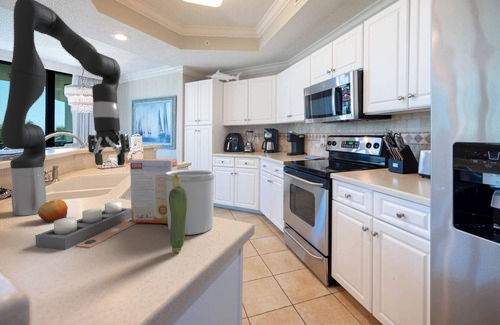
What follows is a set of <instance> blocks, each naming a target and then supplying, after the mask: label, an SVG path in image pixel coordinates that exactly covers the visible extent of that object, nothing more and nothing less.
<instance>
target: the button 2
mask: <svg viewBox="0 0 500 325" xmlns="http://www.w3.org/2000/svg"><path fill="white" fill-rule="evenodd" d="M122 204H123V203H122V202H121V201H110V202H106V203H104V210H105V214H118V213H121V212H122V208H123V207H122V206H123V205H122Z"/></svg>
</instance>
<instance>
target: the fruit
mask: <svg viewBox="0 0 500 325" xmlns="http://www.w3.org/2000/svg"><path fill="white" fill-rule="evenodd" d="M37 215H38V217H39V218H40V219H41V220H42V221H44V222H49V223H50V222H51V223H52V222H53V223H54V221H56V220H59V219H63V218H68V217H67V216H68V205H67V203H66V202H65V201H64V200H63V199H52V200H49V201H47V202H46V203H44V204H43V205H42V206H41V207H40V208H39V210H38V214H37Z"/></svg>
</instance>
